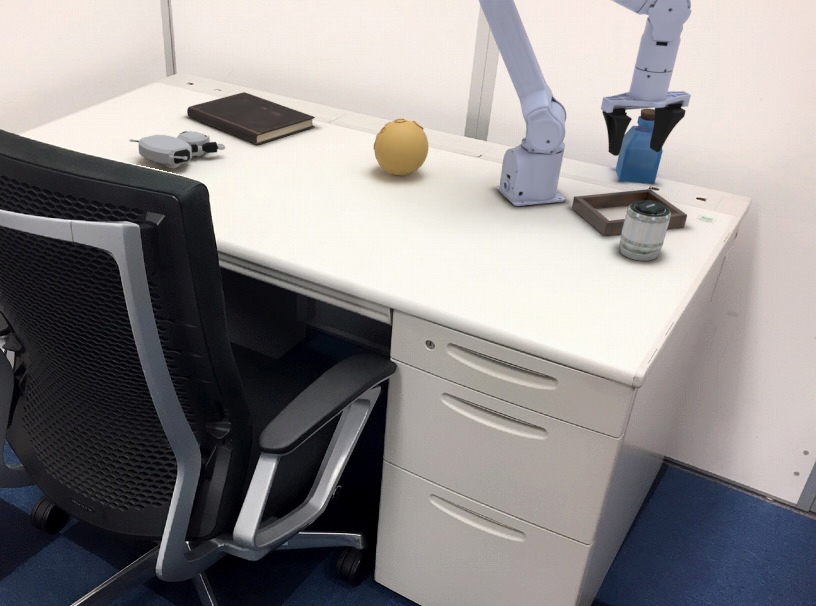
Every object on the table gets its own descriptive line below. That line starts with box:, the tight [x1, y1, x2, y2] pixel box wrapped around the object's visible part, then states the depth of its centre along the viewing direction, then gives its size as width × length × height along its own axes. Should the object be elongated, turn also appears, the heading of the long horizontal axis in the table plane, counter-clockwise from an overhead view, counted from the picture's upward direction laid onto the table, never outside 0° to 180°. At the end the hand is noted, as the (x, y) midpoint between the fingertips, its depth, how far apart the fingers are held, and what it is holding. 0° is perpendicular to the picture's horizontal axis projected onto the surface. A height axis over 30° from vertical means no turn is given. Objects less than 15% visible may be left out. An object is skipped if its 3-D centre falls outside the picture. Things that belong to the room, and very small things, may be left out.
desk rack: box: [571, 188, 688, 237], centre depth 142 cm, size 14×11×2 cm
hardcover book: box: [186, 91, 316, 146], centre depth 180 cm, size 16×23×2 cm
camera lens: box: [619, 200, 671, 262], centre depth 130 cm, size 6×6×8 cm
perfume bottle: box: [615, 108, 664, 185], centre depth 154 cm, size 6×6×12 cm
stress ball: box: [373, 118, 430, 176], centre depth 155 cm, size 10×10×10 cm
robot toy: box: [129, 130, 226, 169], centre depth 162 cm, size 12×4×15 cm
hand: (634, 151), depth 141 cm, fingers open, 7 cm apart
